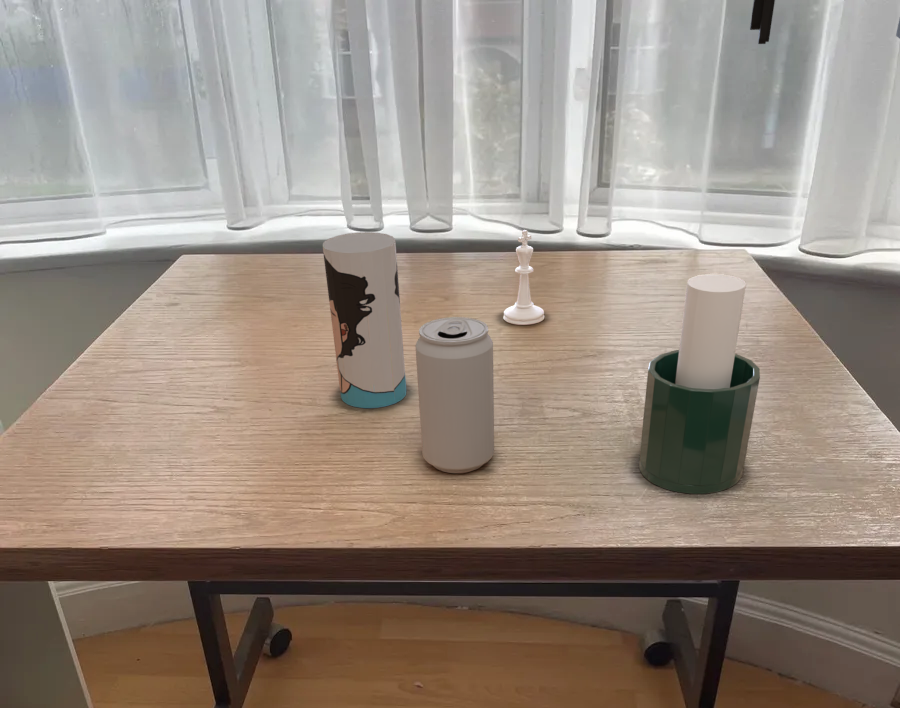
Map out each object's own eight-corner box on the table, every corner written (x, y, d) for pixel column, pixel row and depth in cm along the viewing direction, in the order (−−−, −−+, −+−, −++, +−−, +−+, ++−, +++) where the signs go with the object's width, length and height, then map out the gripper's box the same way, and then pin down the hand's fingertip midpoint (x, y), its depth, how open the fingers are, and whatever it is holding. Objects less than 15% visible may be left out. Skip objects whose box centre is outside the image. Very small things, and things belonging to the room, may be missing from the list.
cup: (391, 375, 95) (379, 228, 86) (417, 399, 91) (406, 245, 82) (331, 389, 93) (312, 239, 84) (354, 413, 88) (337, 257, 79)
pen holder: (742, 449, 79) (759, 351, 74) (741, 498, 73) (760, 395, 67) (643, 441, 81) (653, 345, 76) (634, 488, 75) (644, 387, 69)
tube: (696, 477, 74) (722, 296, 65) (655, 459, 77) (675, 283, 68) (728, 460, 76) (757, 282, 67) (687, 443, 79) (711, 270, 70)
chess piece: (494, 318, 108) (494, 231, 102) (523, 307, 111) (524, 222, 105) (524, 328, 105) (525, 239, 99) (553, 317, 108) (555, 229, 102)
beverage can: (417, 476, 78) (408, 342, 71) (428, 441, 83) (421, 313, 76) (490, 478, 77) (488, 342, 70) (497, 443, 82) (496, 314, 75)
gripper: (745, -284, 54) (707, 49, 64) (1068, -314, 50) (972, 44, 60) (745, -265, 60) (710, 37, 70) (1034, -292, 56) (952, 33, 66)
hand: (832, 40), depth 65 cm, fingers open, 9 cm apart
